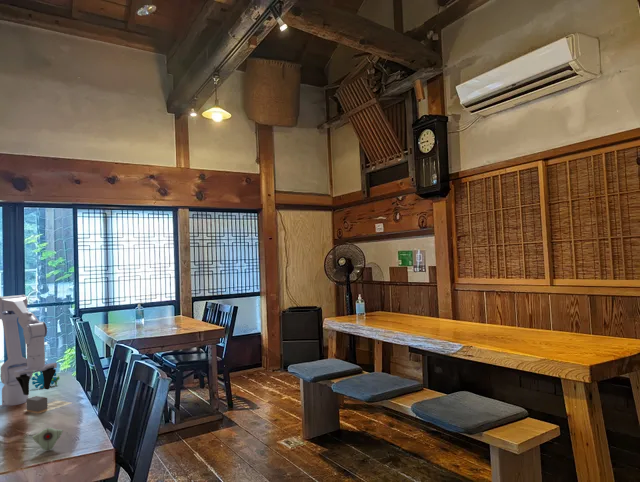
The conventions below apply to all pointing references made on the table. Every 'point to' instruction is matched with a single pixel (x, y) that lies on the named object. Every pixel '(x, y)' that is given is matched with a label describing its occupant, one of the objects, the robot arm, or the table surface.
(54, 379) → the gear
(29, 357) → the robot arm
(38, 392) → the table surface
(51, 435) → the robot head
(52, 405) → the plank
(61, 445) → the table surface
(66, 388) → the table surface
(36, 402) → the block
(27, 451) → the table surface
